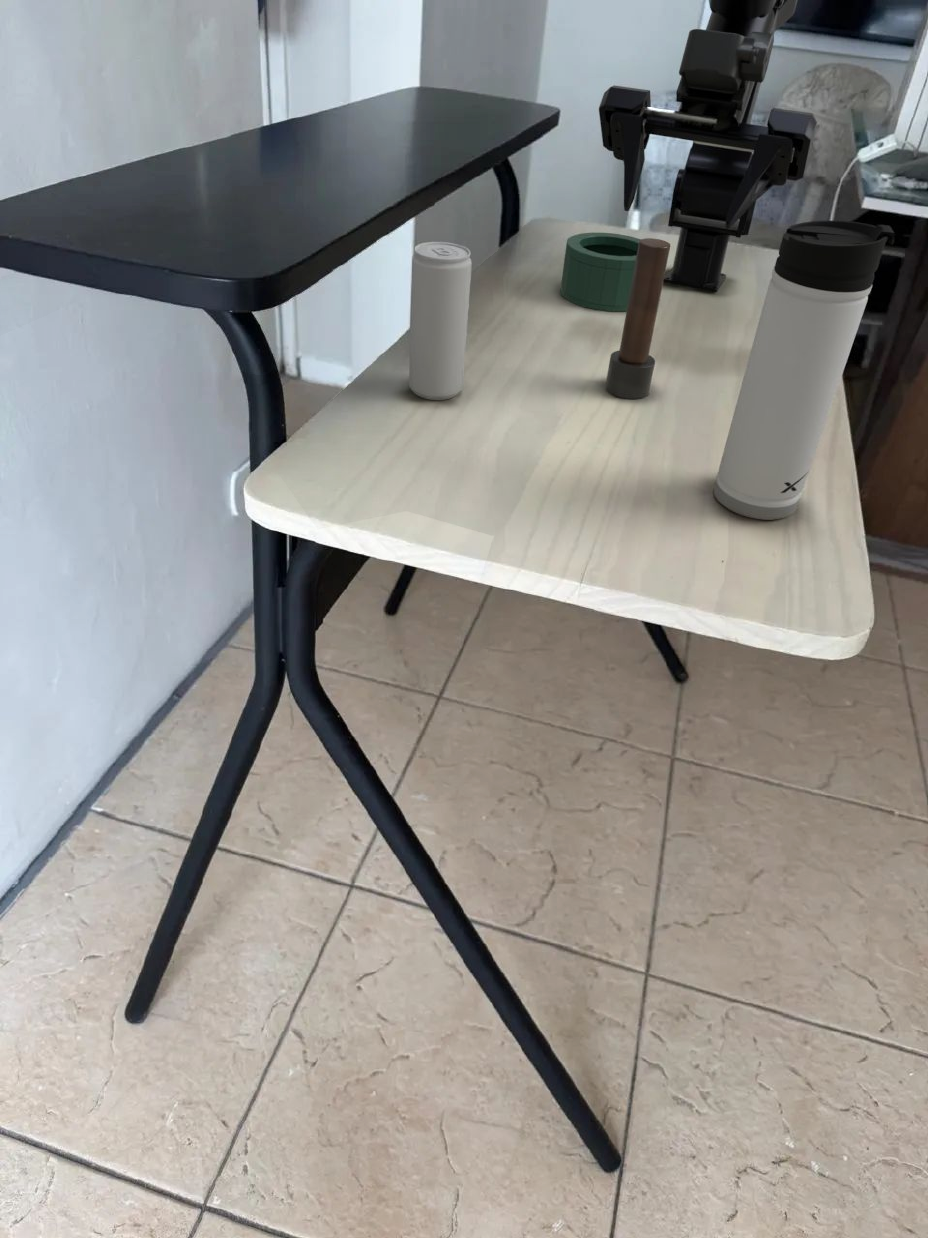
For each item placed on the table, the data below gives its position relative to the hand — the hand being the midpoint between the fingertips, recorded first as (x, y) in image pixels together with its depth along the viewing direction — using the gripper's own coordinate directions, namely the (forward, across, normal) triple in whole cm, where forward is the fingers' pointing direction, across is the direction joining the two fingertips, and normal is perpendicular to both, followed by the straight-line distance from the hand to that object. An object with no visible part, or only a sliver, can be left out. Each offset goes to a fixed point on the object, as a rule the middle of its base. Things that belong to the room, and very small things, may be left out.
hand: (675, 216), depth 82 cm
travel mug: (+25, +14, -6) cm, 30 cm away
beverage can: (+22, -15, -3) cm, 27 cm away
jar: (-2, -9, +21) cm, 23 cm away
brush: (+15, 0, +4) cm, 15 cm away
